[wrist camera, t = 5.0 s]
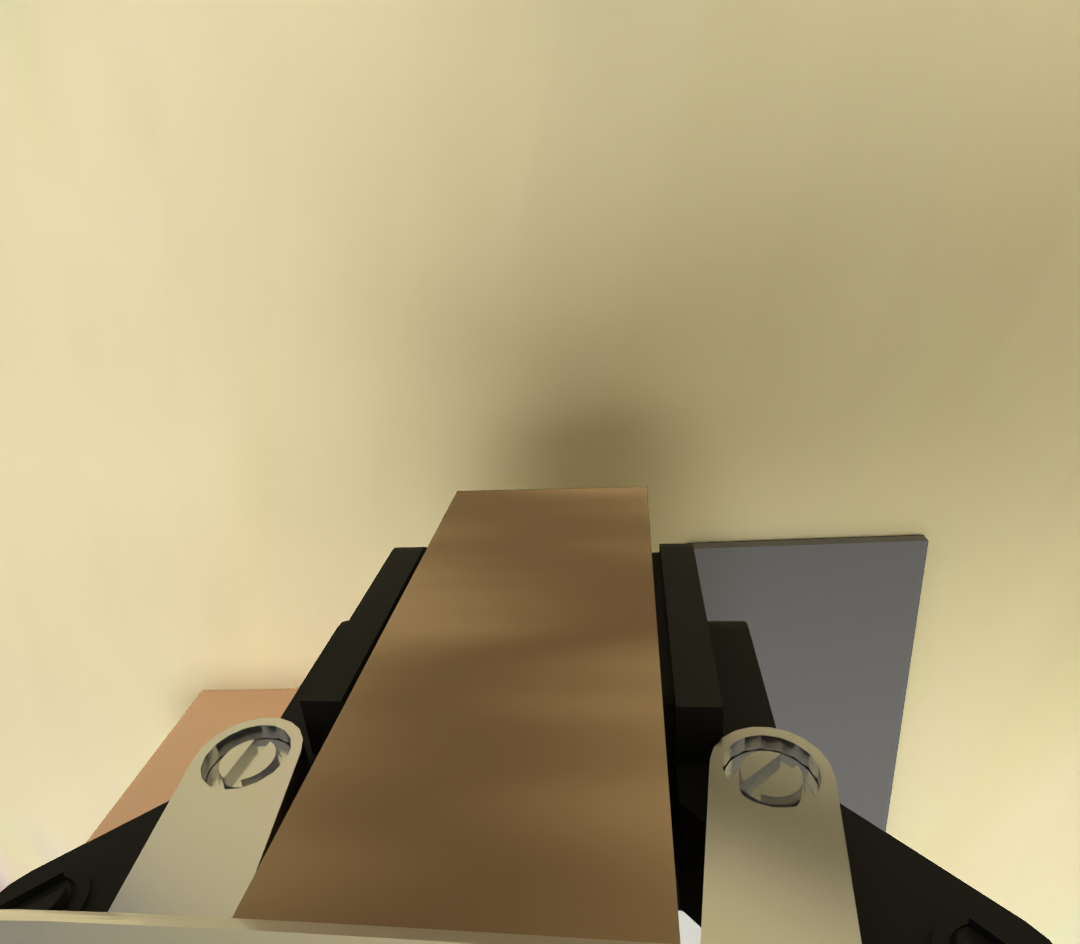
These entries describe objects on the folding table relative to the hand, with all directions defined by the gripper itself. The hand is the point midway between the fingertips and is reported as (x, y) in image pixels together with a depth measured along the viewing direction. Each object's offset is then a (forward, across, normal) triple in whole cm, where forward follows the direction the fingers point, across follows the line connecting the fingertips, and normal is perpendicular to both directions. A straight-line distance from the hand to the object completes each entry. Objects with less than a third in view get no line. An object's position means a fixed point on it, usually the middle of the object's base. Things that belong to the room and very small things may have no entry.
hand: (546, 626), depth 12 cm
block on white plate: (+2, 0, +4) cm, 4 cm away
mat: (+13, -7, +13) cm, 20 cm away
